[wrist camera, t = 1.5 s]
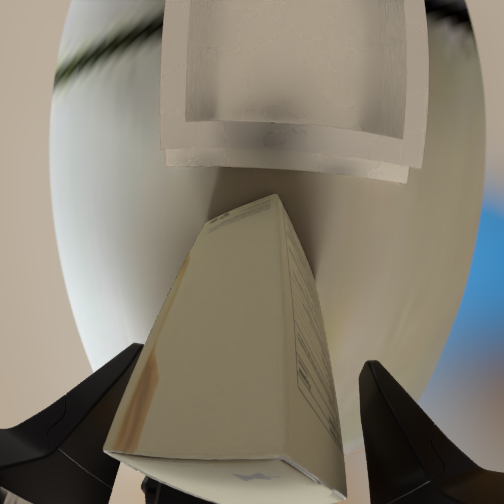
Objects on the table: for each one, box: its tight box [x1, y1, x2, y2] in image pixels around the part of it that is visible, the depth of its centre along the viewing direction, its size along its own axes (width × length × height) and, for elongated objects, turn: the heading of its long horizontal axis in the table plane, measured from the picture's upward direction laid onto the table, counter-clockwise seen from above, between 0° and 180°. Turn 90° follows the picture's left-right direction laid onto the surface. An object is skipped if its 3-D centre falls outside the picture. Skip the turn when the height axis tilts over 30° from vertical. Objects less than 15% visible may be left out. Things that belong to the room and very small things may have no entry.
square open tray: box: [160, 0, 429, 184], centre depth 8 cm, size 14×12×4 cm
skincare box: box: [103, 194, 347, 504], centre depth 10 cm, size 6×4×12 cm
